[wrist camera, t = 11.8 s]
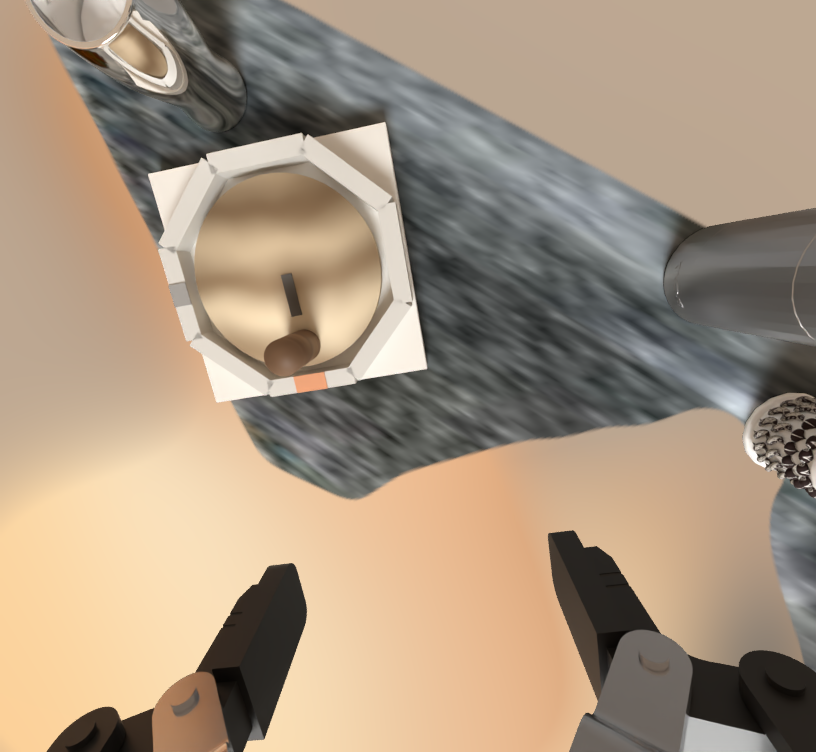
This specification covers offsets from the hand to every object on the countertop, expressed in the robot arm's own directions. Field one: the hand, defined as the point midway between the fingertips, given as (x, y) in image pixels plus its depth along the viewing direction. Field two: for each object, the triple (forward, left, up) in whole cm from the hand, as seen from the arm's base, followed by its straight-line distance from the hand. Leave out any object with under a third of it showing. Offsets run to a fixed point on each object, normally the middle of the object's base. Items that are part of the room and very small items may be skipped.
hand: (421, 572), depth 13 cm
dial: (+11, -11, -28) cm, 32 cm away
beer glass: (+15, -28, -30) cm, 44 cm away
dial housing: (+11, -11, -30) cm, 34 cm away
